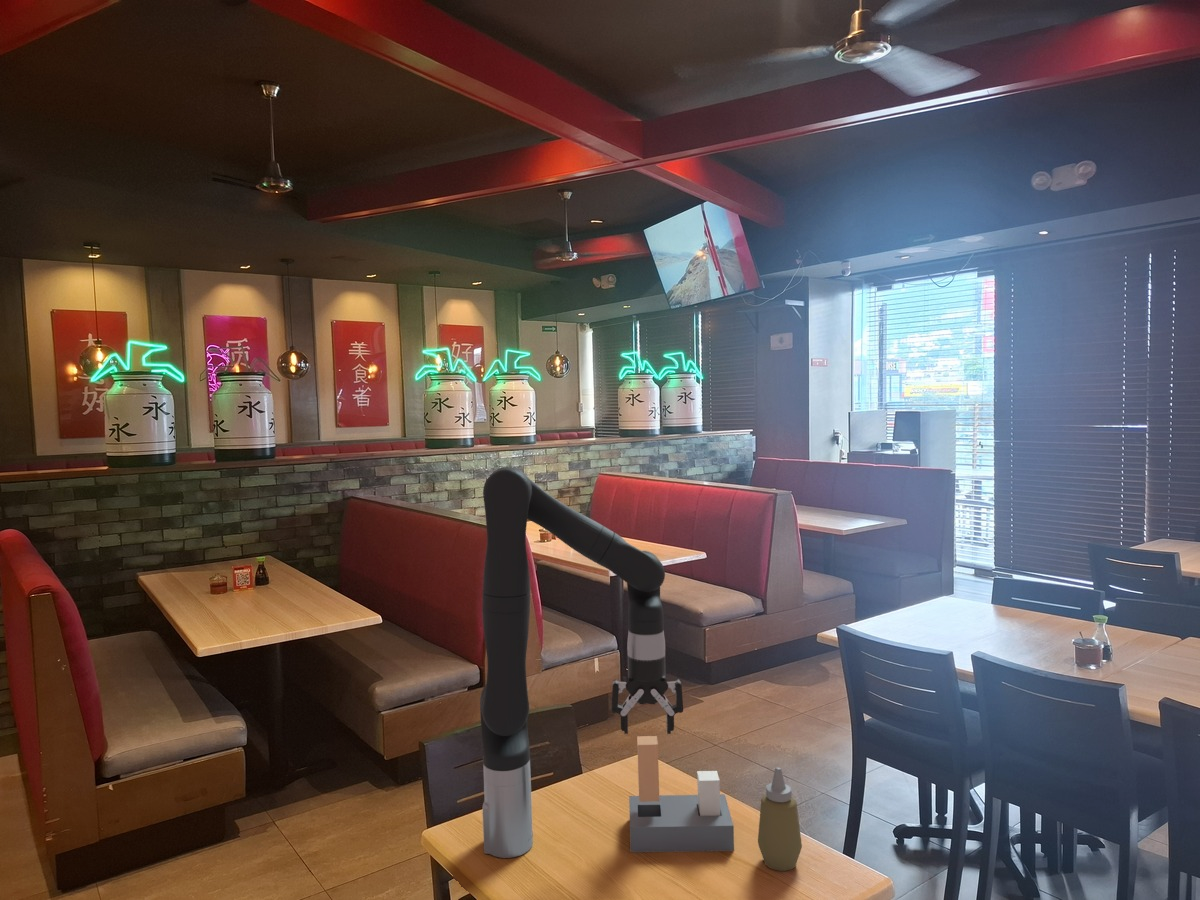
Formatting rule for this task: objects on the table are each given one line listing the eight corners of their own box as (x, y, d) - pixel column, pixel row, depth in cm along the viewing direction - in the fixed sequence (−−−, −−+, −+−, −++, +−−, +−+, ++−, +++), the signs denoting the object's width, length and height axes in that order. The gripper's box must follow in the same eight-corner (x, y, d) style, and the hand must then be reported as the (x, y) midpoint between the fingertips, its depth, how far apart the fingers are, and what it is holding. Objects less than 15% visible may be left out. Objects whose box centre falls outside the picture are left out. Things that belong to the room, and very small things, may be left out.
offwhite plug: (700, 837, 151) (699, 780, 150) (698, 826, 155) (697, 771, 154) (720, 836, 151) (719, 780, 150) (718, 825, 155) (717, 770, 154)
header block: (630, 852, 147) (629, 827, 147) (629, 819, 159) (629, 796, 159) (734, 850, 146) (733, 825, 146) (725, 817, 158) (724, 794, 158)
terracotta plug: (639, 801, 151) (637, 745, 150) (638, 791, 155) (637, 736, 154) (659, 801, 150) (657, 744, 150) (658, 791, 154) (656, 736, 154)
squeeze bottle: (777, 880, 137) (775, 783, 136) (749, 858, 144) (747, 765, 143) (811, 867, 141) (810, 772, 140) (782, 845, 148) (780, 755, 147)
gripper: (610, 659, 148) (611, 740, 148) (683, 658, 147) (684, 740, 148) (610, 647, 155) (612, 725, 156) (680, 646, 155) (681, 724, 155)
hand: (647, 732), depth 152 cm, fingers open, 8 cm apart
